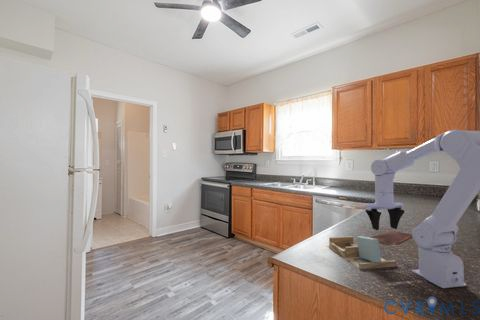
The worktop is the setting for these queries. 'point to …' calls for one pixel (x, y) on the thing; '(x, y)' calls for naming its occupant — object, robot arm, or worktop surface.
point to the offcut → (352, 244)
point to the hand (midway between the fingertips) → (384, 228)
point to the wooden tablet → (392, 237)
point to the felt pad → (362, 260)
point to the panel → (368, 248)
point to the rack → (355, 253)
